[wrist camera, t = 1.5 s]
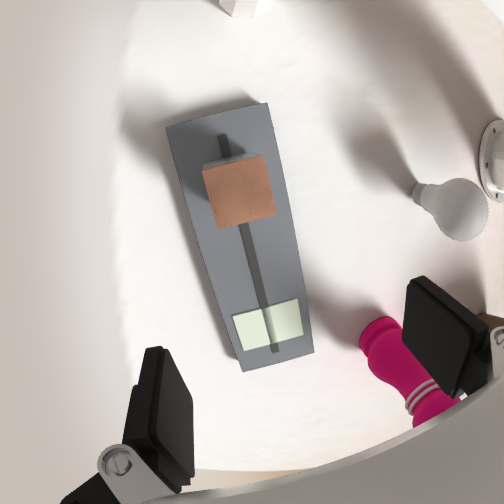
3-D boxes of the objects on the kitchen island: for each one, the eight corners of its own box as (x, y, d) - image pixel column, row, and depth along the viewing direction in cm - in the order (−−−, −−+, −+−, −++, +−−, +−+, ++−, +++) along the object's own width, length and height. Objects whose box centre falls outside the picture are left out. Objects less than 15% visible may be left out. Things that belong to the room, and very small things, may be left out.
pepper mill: (347, 353, 38) (413, 469, 19) (371, 309, 35) (461, 422, 17) (384, 356, 39) (451, 455, 21) (407, 316, 37) (492, 412, 18)
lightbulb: (419, 225, 32) (481, 259, 22) (387, 203, 30) (452, 234, 20) (440, 183, 30) (505, 205, 20) (409, 157, 28) (480, 172, 18)
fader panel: (263, 105, 25) (267, 102, 23) (309, 342, 36) (314, 353, 34) (168, 128, 25) (165, 127, 23) (241, 361, 35) (242, 373, 33)
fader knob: (250, 151, 24) (263, 155, 18) (260, 195, 26) (276, 214, 19) (204, 163, 24) (201, 170, 18) (216, 207, 26) (217, 230, 19)
